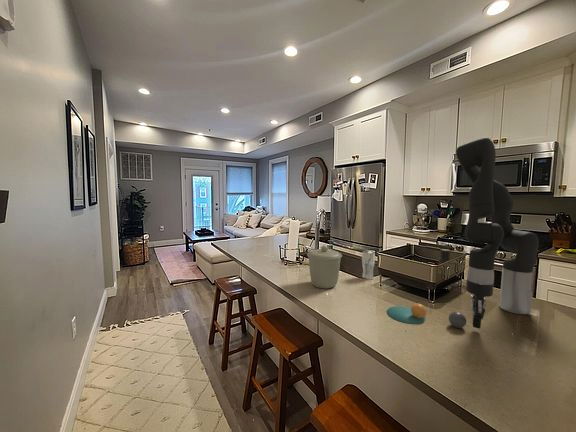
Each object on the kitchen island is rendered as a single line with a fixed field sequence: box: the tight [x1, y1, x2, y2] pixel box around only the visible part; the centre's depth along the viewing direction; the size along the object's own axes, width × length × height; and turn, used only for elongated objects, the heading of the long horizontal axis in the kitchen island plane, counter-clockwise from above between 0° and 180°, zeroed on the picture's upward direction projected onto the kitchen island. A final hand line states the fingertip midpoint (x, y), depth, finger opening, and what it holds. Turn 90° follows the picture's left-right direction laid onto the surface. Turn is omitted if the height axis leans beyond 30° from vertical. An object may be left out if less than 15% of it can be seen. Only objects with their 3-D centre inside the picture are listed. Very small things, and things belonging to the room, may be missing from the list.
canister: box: [306, 245, 343, 289], centre depth 134 cm, size 18×18×21 cm
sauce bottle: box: [437, 248, 452, 291], centre depth 129 cm, size 6×6×20 cm
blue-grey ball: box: [448, 311, 467, 329], centre depth 93 cm, size 6×6×6 cm
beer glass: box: [361, 250, 376, 280], centre depth 145 cm, size 7×7×15 cm
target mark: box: [386, 305, 426, 325], centre depth 103 cm, size 14×14×1 cm
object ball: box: [410, 303, 427, 318], centre depth 100 cm, size 6×6×6 cm
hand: (476, 326), depth 91 cm, fingers closed
